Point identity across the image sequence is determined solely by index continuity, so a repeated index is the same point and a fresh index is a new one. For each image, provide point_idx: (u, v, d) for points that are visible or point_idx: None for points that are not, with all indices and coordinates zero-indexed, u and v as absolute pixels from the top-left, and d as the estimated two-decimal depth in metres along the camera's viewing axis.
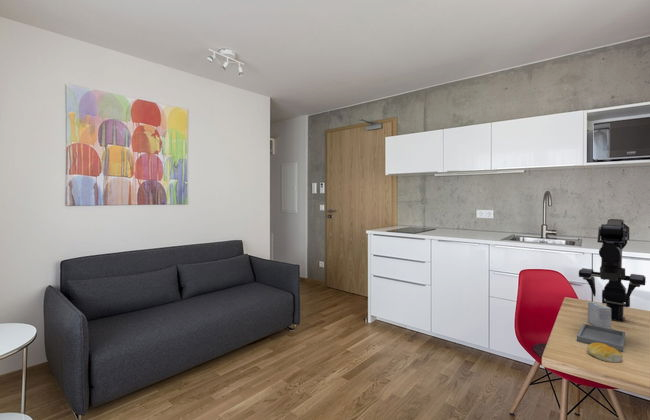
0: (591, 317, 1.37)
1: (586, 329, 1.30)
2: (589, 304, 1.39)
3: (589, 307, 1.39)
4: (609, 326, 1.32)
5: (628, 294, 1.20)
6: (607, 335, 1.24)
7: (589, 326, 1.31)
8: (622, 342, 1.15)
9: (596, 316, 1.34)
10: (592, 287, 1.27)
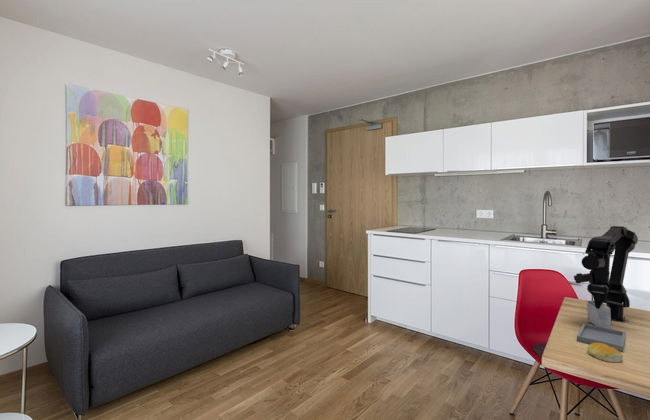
0: (591, 316, 1.37)
1: (586, 329, 1.30)
2: (588, 303, 1.38)
3: (588, 306, 1.38)
4: (609, 325, 1.32)
5: None
6: (607, 335, 1.24)
7: (589, 326, 1.31)
8: (622, 342, 1.15)
9: (595, 316, 1.34)
10: None
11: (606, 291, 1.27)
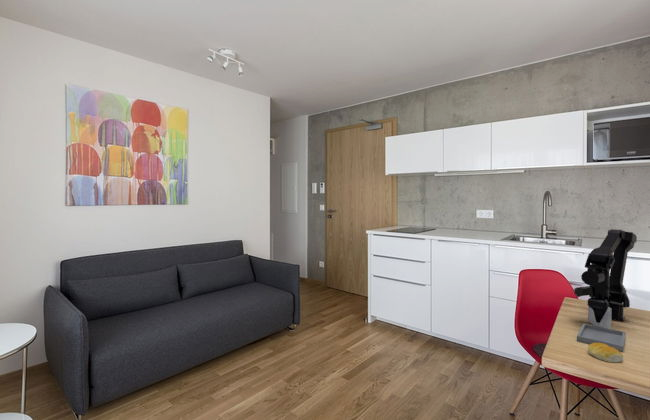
0: (592, 316, 1.37)
1: (586, 329, 1.30)
2: None
3: (589, 307, 1.39)
4: (609, 326, 1.32)
5: None
6: (607, 335, 1.24)
7: (589, 326, 1.31)
8: (622, 342, 1.15)
9: None
10: None
11: (606, 306, 1.27)
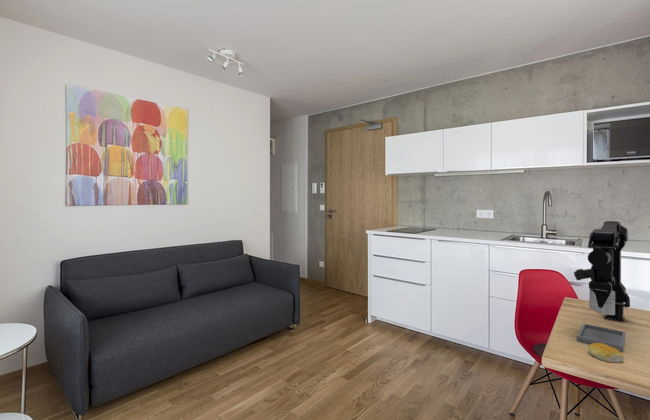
0: (593, 302, 1.24)
1: (586, 329, 1.30)
2: None
3: (591, 291, 1.26)
4: (613, 311, 1.19)
5: None
6: (607, 335, 1.24)
7: (589, 326, 1.31)
8: (622, 342, 1.15)
9: None
10: None
11: (610, 289, 1.14)
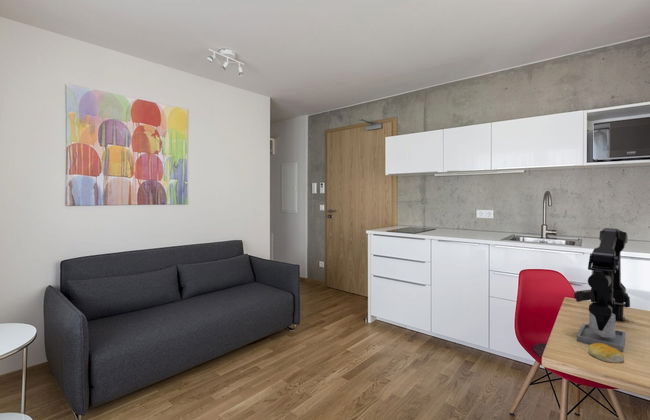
0: (593, 323, 1.24)
1: (586, 329, 1.30)
2: None
3: (591, 313, 1.25)
4: (613, 334, 1.18)
5: None
6: None
7: None
8: (622, 342, 1.15)
9: None
10: None
11: (610, 313, 1.14)
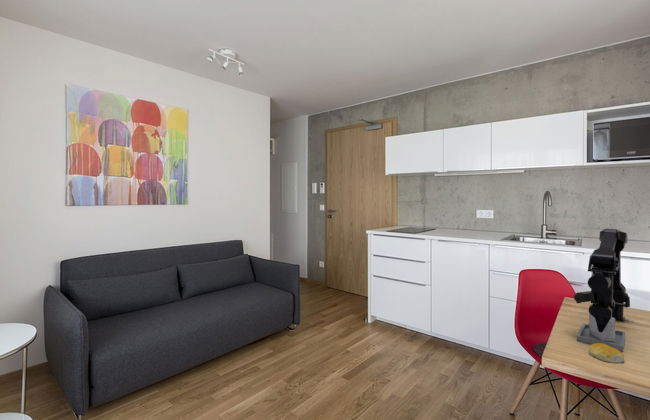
0: (593, 327, 1.24)
1: (586, 329, 1.30)
2: None
3: (590, 317, 1.25)
4: (613, 338, 1.18)
5: None
6: None
7: None
8: (622, 342, 1.15)
9: None
10: None
11: (610, 314, 1.14)
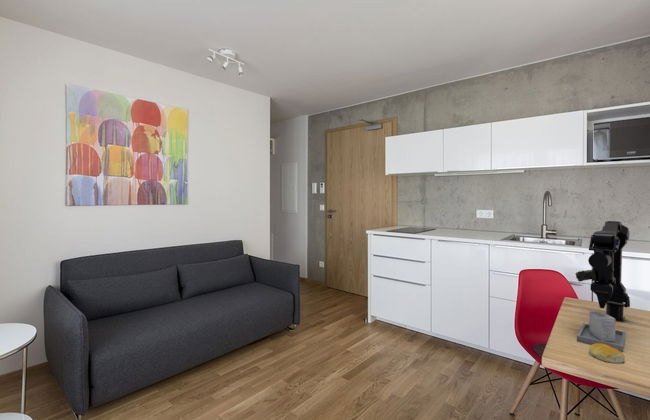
0: (593, 327, 1.24)
1: (586, 329, 1.30)
2: (590, 313, 1.25)
3: (590, 317, 1.25)
4: (613, 338, 1.18)
5: None
6: None
7: None
8: (622, 342, 1.15)
9: (598, 327, 1.21)
10: None
11: (611, 291, 1.18)
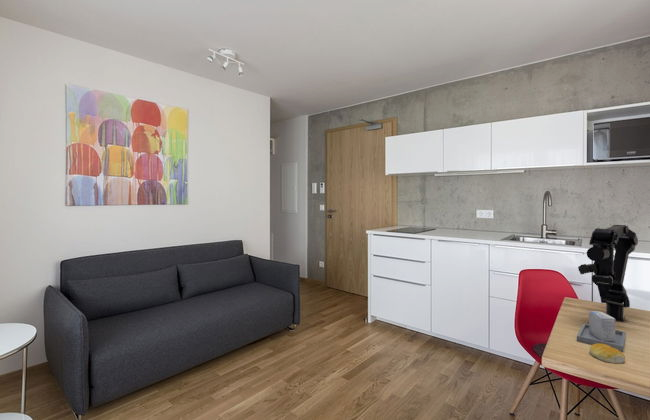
0: (593, 327, 1.24)
1: (586, 329, 1.30)
2: (590, 313, 1.25)
3: (590, 317, 1.25)
4: (613, 338, 1.18)
5: None
6: None
7: None
8: (622, 342, 1.15)
9: (598, 327, 1.21)
10: None
11: (611, 282, 1.28)
